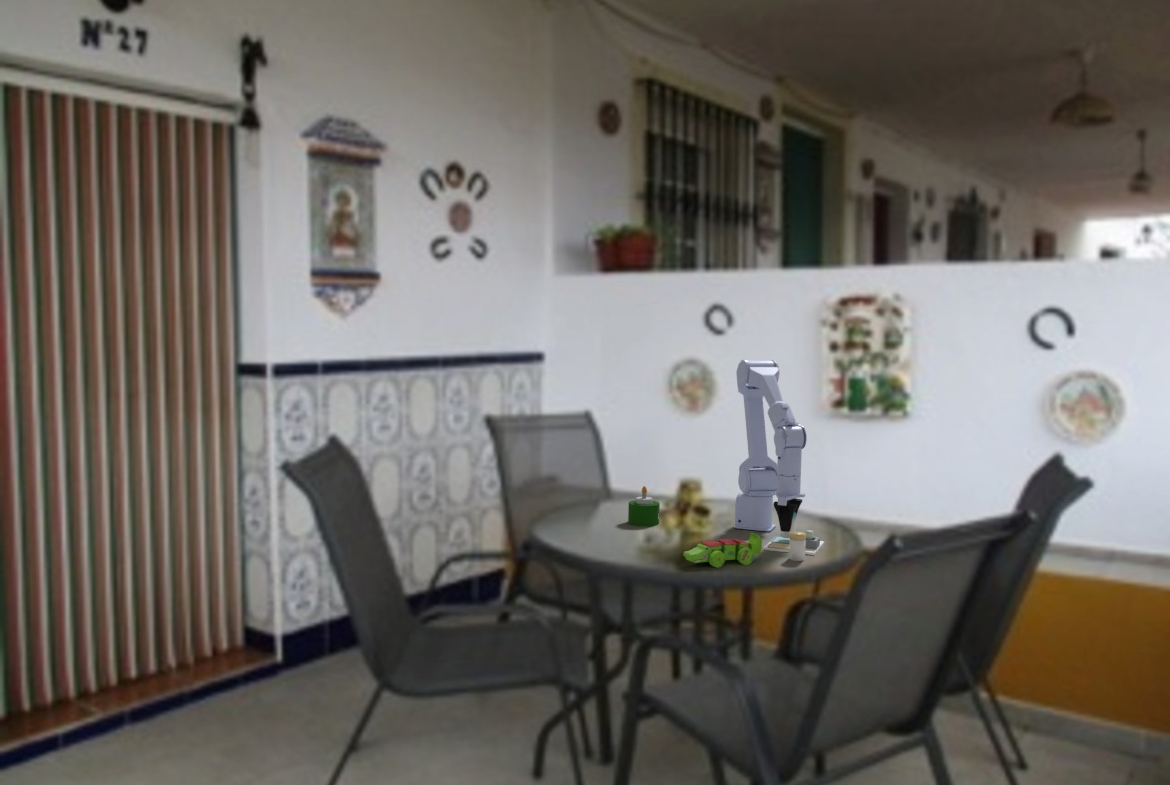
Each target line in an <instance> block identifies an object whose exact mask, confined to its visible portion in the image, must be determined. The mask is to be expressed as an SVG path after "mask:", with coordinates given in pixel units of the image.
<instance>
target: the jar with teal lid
mask: <svg viewBox="0 0 1170 785" xmlns="http://www.w3.org/2000/svg"><path fill="white" fill-rule="evenodd" d="M796 520H797V516H796V512H794V515H793V519H792V525H791V529H790V532H796V527H797V526H796ZM790 532H784V531H781V529H780V532H779V536H780V537H782V538H789V535H790Z"/></svg>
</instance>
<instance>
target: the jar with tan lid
mask: <svg viewBox="0 0 1170 785" xmlns="http://www.w3.org/2000/svg"><path fill="white" fill-rule="evenodd" d="M789 538H790V542H789V552H788V560H789V561H794V562H803V561H805V560H806V554H805V543H806V533H805V532H803V531H795V532H790V535H789Z"/></svg>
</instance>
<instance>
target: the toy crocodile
mask: <svg viewBox="0 0 1170 785" xmlns="http://www.w3.org/2000/svg"><path fill="white" fill-rule="evenodd" d="M762 548H763V542H762V537H761V536H760V535H759V534H757V533H754V532H750V533H749V539H748V540H747V541H744V540H741V539H736V538H733V539H730V538H725V539H724V538H720V539H718V541H716V540H710V541H709V540H708V541H702V542H701V543H697V545H696V546H694V547H693V548H692V549H689V550H685V551H683V557H684V558H685V560H687V561H690V562H692V563H694V564H697V563H699V564H700V563H709V564H710V566H712V567H714V568H717V569H718V568H721V567H722V566H724V564H725V562H726V561H735V560H737V561H738V563H739V564H741V565H743V566H747V565H751V564H752V563H753V561H754V560H755V559H754V558H755V556H757V555H759V554H760V553H761V551H762Z"/></svg>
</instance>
